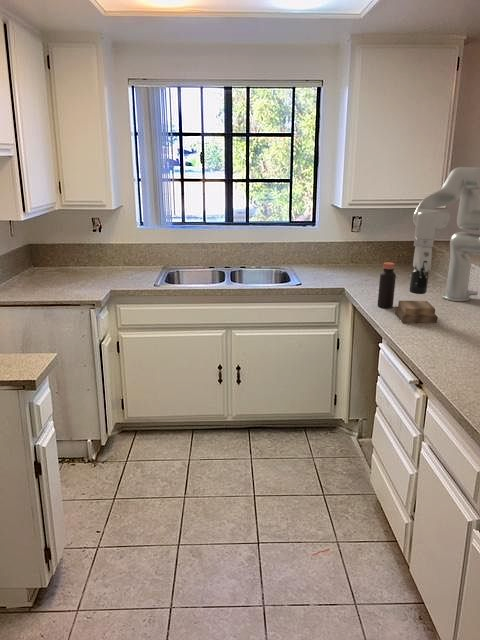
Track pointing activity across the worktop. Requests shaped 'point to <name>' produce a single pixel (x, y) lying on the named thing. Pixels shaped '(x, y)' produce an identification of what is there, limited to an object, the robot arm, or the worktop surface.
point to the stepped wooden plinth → (416, 312)
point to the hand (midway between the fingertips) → (418, 284)
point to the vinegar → (387, 286)
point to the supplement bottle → (415, 282)
